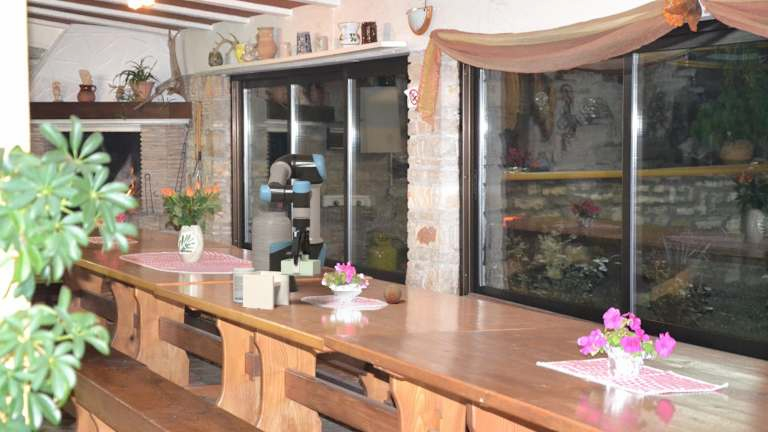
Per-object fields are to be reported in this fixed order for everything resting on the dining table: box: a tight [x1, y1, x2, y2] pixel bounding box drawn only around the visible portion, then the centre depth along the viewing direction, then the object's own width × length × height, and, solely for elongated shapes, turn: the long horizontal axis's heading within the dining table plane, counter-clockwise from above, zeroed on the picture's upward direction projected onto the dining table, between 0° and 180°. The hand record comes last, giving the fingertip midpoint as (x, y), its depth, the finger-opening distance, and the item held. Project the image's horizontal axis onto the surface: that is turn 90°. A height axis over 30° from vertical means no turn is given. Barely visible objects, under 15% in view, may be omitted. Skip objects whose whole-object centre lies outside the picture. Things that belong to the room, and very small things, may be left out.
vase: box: [251, 211, 292, 272], centre depth 547 cm, size 20×20×34 cm
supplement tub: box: [232, 267, 255, 304], centre depth 456 cm, size 10×10×15 cm
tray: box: [281, 259, 321, 277], centre depth 441 cm, size 10×14×6 cm
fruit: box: [383, 284, 403, 305], centre depth 459 cm, size 8×8×8 cm
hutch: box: [242, 271, 290, 310], centre depth 446 cm, size 15×14×14 cm
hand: (300, 271), depth 441 cm, fingers closed on tray, 9 cm apart
